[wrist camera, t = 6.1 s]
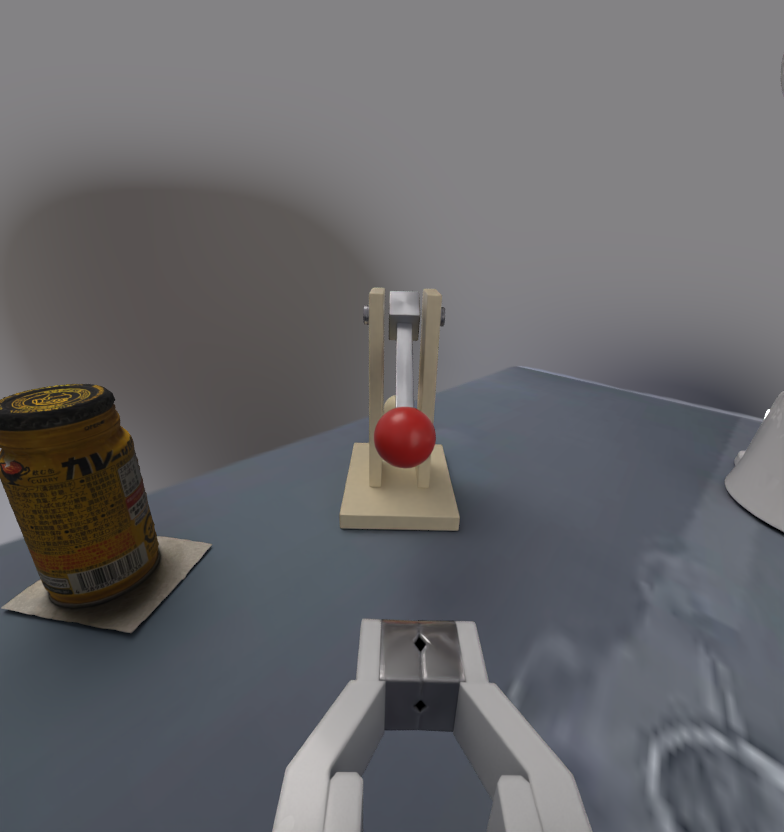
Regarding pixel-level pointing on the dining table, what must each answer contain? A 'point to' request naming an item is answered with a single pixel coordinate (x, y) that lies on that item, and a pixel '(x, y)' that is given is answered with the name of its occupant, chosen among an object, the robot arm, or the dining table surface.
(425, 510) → the switch bracket
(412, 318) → the switch lever
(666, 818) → the dining table surface
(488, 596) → the dining table surface
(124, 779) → the dining table surface
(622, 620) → the dining table surface
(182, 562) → the condiment
